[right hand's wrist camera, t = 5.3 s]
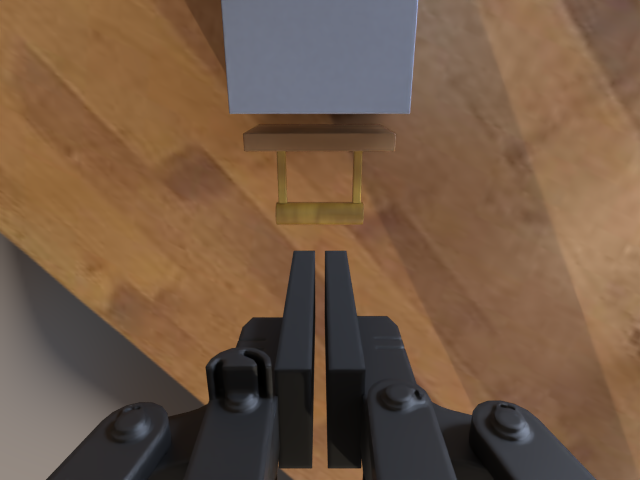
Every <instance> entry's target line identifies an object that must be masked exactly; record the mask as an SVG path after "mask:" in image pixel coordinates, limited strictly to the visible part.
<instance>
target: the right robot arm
mask: <svg viewBox="0 0 640 480" xmlns="http://www.w3.org/2000/svg"><path fill="white" fill-rule="evenodd" d="M314 353H315V251H294V252H293V258H292V264H291V271H290V277H289V283H288V289H287V295H286V301H285V307H284V313H283V318H252V319H251V320H250V321H249V322H248V323H247V324H246V325H245V326H243V328H242V331H241V334H240V337H239V341H238V343H237V346H236V348H231V349H229V350H226V351H223V352H220V353H219V354H217V355H216V356H215V357H213V358H212V359H211V360H210V361H209V363H208V364H207V365H206V375H207V383H208V392H209V403H208V404H207V405H205V406H203V407H201V408H199V409H196V410H193V411H190V412H186V413H182V414H178V415H174V416H170V417H168V414H167V412H166V411H165V409H164V408H163V407H162V406H160V405H158V404H155V403H151V402H139V403H135V404H131V405H127V406H124V407H122V408H120V409H118V410H116V411H114V412H112V413H111V414H110V415H109V416H108V417H106V418H105V419H104V420H103V421H101V423H100V424H99V425H98V426H97V427H96V428H95V429H94V430H93V431H92V432H91V433H90V434H89V435H88V436H87V437H86V438H85V439H84V441H82V442H81V444H80V445H79V446H78V447H77V448H76V449H75V450H74V451H73V452H72V453H71V454H70V455H69V456H68V457H67V458H66V459H65V460H64V461H63V462H62V464H61V465H60V466H59V467H58V468H57V469H56V470H55V471H54V472H53V473H52V474H51V475H50V476H49V477H48V478H47V479H46V480H277V468H278V459H279V468H312V449H313V401H314ZM325 354H326V401H327V449H328V468H361V459H362V466H363V480H596V479H595V478H594V477H593V476H592V475H591V474H590V473H589V471H588V470H587V469H586V468H585V467H584V466H583V465H582V464H581V463H580V462H579V461H578V460H577V459H576V458H575V457H574V456H573V455H572V454H571V453H570V452H569V451H568V450H567V448H566V447H565V446H564V445H563V444H562V443H561V442H560V441H559V440H558V439H557V438H556V437H555V436H554V435H553V434H552V433H551V432H550V431H549V430H548V429H547V428H546V427H545V426H544V424H543V423H542V422H541V421H540V420H539V419H538V418H536V417H535V416H534V415H533V414H531V413H530V412H529V411H528V410H526V409H524V408H522V407H520V406H517V405H515V404H513V403H508V402H504V401H486V402H483V403H481V404H478V406H477V407H476V408H475V409H474V410H473V414H472V415H469V414H465V413H461V412H457V411H452V410H449V409H446V408H443V407H441V406H439V405H437V404H435V403H433V402H431V399H430V398H429V396H428V394H427V393H426V391H425V390H424V389H422V388H421V387H420V386H419V385H417V384H416V381H415V378H414V375H413V372H412V369H411V366H410V363H409V360H408V357H407V354H406V351H405V349H404V344H403V341H402V339H401V335H400V332H399V329H398V326H397V325H396V324H395V323H394V322H393V321H392V320H391V319H389V318H388V317H387V316H357V313H356V307H355V301H354V295H353V289H352V283H351V277H350V271H349V265H348V258H347V252H346V251H325Z"/></svg>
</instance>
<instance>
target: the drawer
mask: <svg viewBox="0 0 640 480" xmlns="http://www.w3.org/2000/svg"><path fill="white" fill-rule="evenodd" d="M243 139H244V151H277V169H278V197H279V202H277V203H276V223H277V224H363V218H364V208H363V203H362V202H361V178H362V151H395V142H396V133H394V132H392V131H391V130H389V129H387V128H385V127H384V126H382V125H380V124H259V125H257V126H256V127H254V128H252V129H250V130H249V131H247V132H245V133H243ZM286 151H354V157H353V192H352V202H287V180H286Z"/></svg>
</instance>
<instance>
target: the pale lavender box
mask: <svg viewBox="0 0 640 480" xmlns="http://www.w3.org/2000/svg"><path fill="white" fill-rule="evenodd" d="M221 7H222V20H223V34H224V47H225V61H226V74H227V88H228V101H229V113H230V114H409V113H410V103H411V90H412V76H413V62H414V49H415V35H416V21H417V8H418V0H221Z"/></svg>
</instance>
